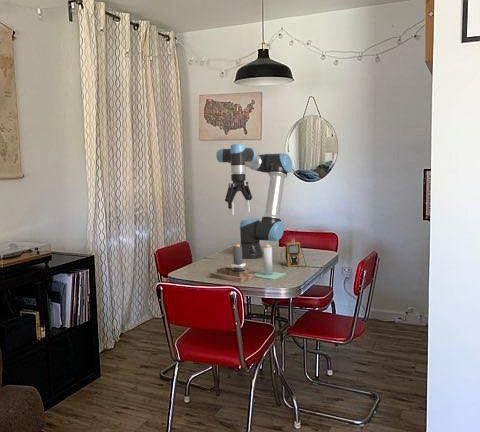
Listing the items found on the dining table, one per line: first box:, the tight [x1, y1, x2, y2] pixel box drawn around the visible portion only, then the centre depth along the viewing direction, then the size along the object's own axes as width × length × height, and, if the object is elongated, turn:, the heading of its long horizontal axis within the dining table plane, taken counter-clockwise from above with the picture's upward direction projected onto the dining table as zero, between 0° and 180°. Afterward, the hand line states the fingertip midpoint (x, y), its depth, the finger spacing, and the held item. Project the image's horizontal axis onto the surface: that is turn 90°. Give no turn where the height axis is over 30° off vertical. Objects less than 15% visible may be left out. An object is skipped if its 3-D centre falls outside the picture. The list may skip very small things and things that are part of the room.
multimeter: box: [280, 229, 307, 270], centre depth 265 cm, size 15×10×20 cm
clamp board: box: [209, 266, 256, 283], centre depth 248 cm, size 11×20×4 cm, turn 51°
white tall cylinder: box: [262, 244, 273, 275], centre depth 249 cm, size 4×4×15 cm
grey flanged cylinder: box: [229, 243, 247, 272], centre depth 244 cm, size 5×7×15 cm
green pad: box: [254, 270, 287, 281], centre depth 250 cm, size 12×14×1 cm
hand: (239, 213), depth 261 cm, fingers open, 13 cm apart
